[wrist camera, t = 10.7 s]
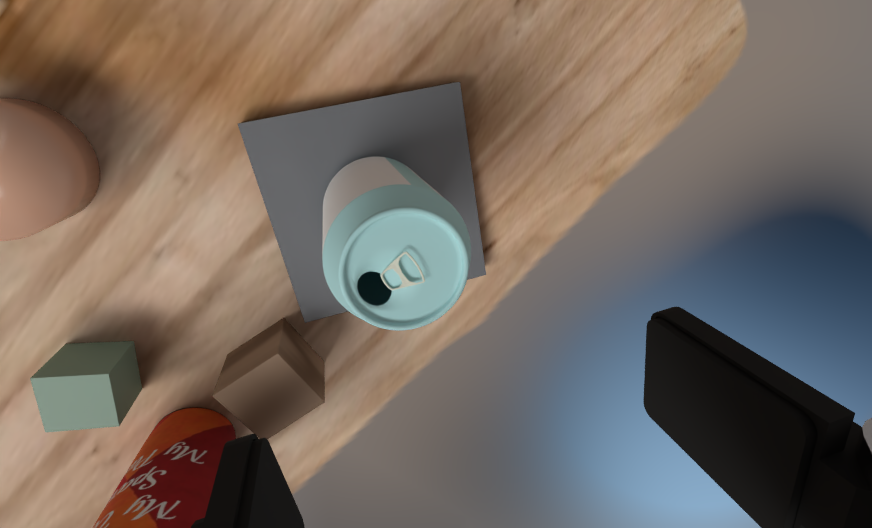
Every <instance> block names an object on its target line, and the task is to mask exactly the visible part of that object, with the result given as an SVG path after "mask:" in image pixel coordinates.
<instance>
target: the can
mask: <svg viewBox="0 0 872 528" xmlns="http://www.w3.org/2000/svg"><path fill="white" fill-rule="evenodd" d="M322 261H323V270H324V275H325V279H326V281H327V284H328V286H329V288H330V290H331V292H332V294H333V295H334V296H335V298H336V299H337V300H338V302H339V303H340V304H341V305H342V306H343V307H344V308H345V309H347V310H348V311H349V312H350V313H352V314H353V315H355V316H356V317H358V318H360V319H362V320H364V321H366V322H368V323H370V324H372V325H374V326H376V327H379V328H383V329H388V330H410V329H415V328H419V327H422V326H425V325H427V324H429V323H432V322H433V321H435V320H437V319H438V318H440V317H441V316H443V315H444V314H445V313H446V312H447V311H448V310H449V309H450V308H451V307H452V306H453V305H454V304H455V303H456V301H457V300H458V298H459V297H460V295H461V293H462V291H463V289H464V287H465V284H466V281H467V277H468V272H469V267H470V262H471V242H470V237H469V233H468V230H467V227H466V224H465V222H464V220H463V219H462V217H461V215H460V214H459V212H458V211H457V210H456V209H455V207H454V206H453V205H452V204H451V203H450V202H448V201H447V200H446V199H445V198H444V197H443V196H441V195H440V194H439V193H438V192H437V191H436V190H434V189H433V188H432V187H431V186H430V185H429V184H427V183H426V182H425V181H424V180H423V179H421V178H420V177H419V176H418V175H417V174H416V173H414V172H413V171H412V170H411V169H410V168H409V167H407V166H406V165H404V164H403V163H401V162H399V161H396V160H394V159H391V158H386V157H366V158H362V159H358V160H356V161H353V162H351V163H350V164H348V165H346V166H345V167H343V168H342V169H341V170H340V171H339V172H338V173H337V174H336V175H335V176H334V177H333V179H332V180H331V182H330V183H329V185H328V187H327V190H326V192H325V196H324V200H323V244H322Z"/></svg>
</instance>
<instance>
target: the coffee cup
mask: <svg viewBox="0 0 872 528" xmlns="http://www.w3.org/2000/svg"><path fill="white" fill-rule="evenodd" d="M234 439H236V435H235V430H234V427H233V425H232V424H231V422H230V421H229V420H228V419H227V418H226V417H225V416H223V415H222V414H220V413H218V412H216V411H213V410H210V409H205V408H186V409H181V410H178V411H175V412H173V413H171V414H169V415H167V416H166V417H164V418H163V419H162V420H161V421H160V422H159V423H158V424H157V425H156V427H155V428H154V430H153V431H152V432H151V434H150V435H149V437H148V439H147V440H146V442H145V443H144V445H143V446H142V448H141V450H140V451H139V453H138V454H137V456H136V458H135V459H134V461H133V463H132V464H131V466H130V467H129V469H128V471H127V472H126V474H125V475H124V477H123V479H122V480H121V482H120V484H119V485H118V487H117V489H116V490H115V492H114V493H113V495H112V497H111V498H110V500H109V502H108V503H107V505H106V507H105V508H104V510H103V512H102V513H101V515H100V516H99V518H98V520H97V521H96V523H95V525H94V526H93V528H191V526H192V525H193V523H194V522H195V521H196V520H199V519H201V518H204V517H205V515H206V511H207V507H208V503H209V500H210V496H211V492H212V488H213V485H214V481H215V477H216V474H217V470H218V466H219V462H220V459H221V455H222V451H223V448H224V445H225V443H226V442H227V441H231V440H234Z"/></svg>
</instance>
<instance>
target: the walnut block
mask: <svg viewBox="0 0 872 528" xmlns="http://www.w3.org/2000/svg"><path fill="white" fill-rule="evenodd" d="M212 396H213V397H214V398H215V399H216V400H217V401H218V402H219V403H221V404H222V405H223V406H224V407H225V408H226V409H227V410H228V411H230V412H231V413H232V414H233V415H234V416H235V417H236V418H238V419H239V420H240V421H241V422H242V423H243V424H244V425H245V426H247V427H248V428H249V429H250V430H251V431H252V432H253V433H254V434H256V435H257V436H258V437H259V438H260V439H261V438H266V439H269V438H270V437H272V436H273V435H275V434H276V433H278V432H279V431H281V430H282V429H284V428H286V427H287V426H289V425H290V424H292V423H293V422H295V421H296V420H298V419H299V418H301V417H302V416H304V415H306V414H307V413H309V412H310V411H312V410H313V409H315V408H316V407H318V406H319V405H321V404H322V403H324V402H325V382H324V361H323V360H322V359H321V358H320V357H319V356H318V354H317V353H316V352H315V351H314V350H313V349H312V348H311V347H310V346H309V345H308V343H307V342H306V341H305V340H304V339H303V338H302V337H301V336H300V335H299V334H298V332H297V331H296V330H295V329H294V328H293V327H292V326H291V325H290V324H289V323H288V321H287V320H286V319H285V318H283V319H281V320H280V321H278V322H277V323H275V324H274V325H272V326H271V327H269V328H267V329H266V330H264V331H263V332H261V333H260V334H258V335H257V336H255V337H254V338H252V339H251V340H249V341H247V342H246V343H244V344H243V345H241V346H240V347H238V348H237V349H235V350H234V351H232V352H231V353H229V354H228V355H227V358H226V360H225V363H224V366H223V368H222V371H221V374H220V376H219V379H218V382H217V384H216V387H215V390H214V392H213V395H212Z"/></svg>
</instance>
